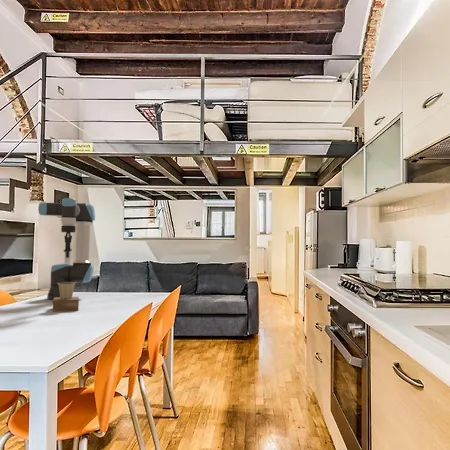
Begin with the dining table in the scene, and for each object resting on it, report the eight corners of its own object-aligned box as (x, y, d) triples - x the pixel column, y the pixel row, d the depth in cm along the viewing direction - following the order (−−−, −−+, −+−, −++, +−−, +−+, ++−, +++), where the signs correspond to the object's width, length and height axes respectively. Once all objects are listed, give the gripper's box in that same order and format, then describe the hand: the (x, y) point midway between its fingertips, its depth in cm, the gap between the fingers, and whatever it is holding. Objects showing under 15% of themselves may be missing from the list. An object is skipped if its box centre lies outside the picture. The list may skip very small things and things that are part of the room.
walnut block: (53, 308, 227) (54, 297, 228) (78, 307, 232) (78, 296, 232) (52, 311, 215) (53, 300, 216) (78, 310, 220) (78, 299, 220)
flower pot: (78, 297, 228) (78, 282, 228) (70, 299, 219) (70, 284, 219) (62, 297, 229) (63, 282, 229) (53, 299, 220) (54, 283, 220)
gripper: (62, 225, 236) (61, 261, 236) (60, 224, 213) (59, 264, 212) (75, 226, 239) (74, 261, 238) (75, 224, 216) (74, 264, 215)
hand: (67, 263), depth 225 cm, fingers open, 13 cm apart
